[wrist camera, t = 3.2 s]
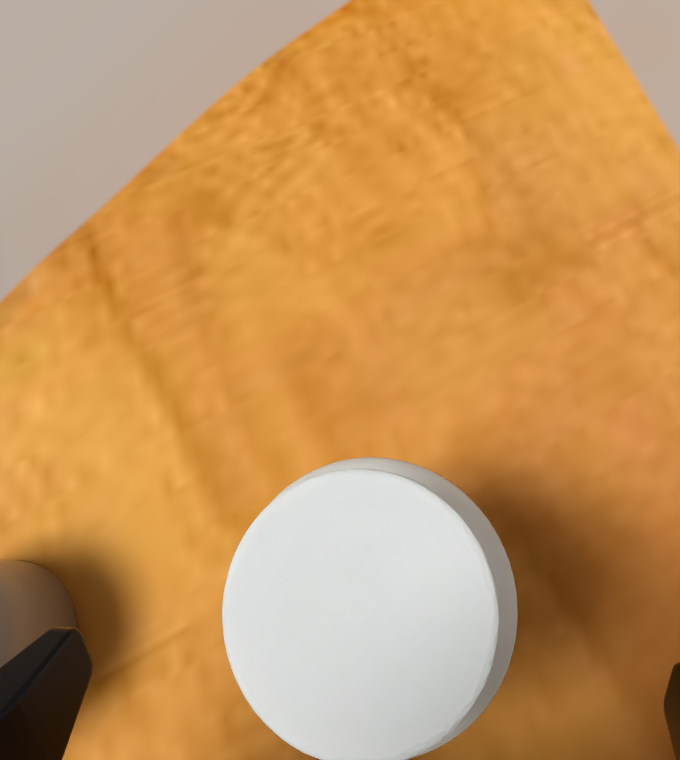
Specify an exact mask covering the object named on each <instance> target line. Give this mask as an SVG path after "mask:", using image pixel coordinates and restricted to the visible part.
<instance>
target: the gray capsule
mask: <svg viewBox="0 0 680 760" xmlns="http://www.w3.org/2000/svg"><path fill="white" fill-rule="evenodd" d="M53 627H74V628H77V622H76V615H75V611H74V607H73V604H72V601H71V599H70V596H69V594H68V593H67V591H66V589H65V587H64V586H63V585H62V583H61V582H60V581H59V580H58V578H56V577H55V576H54V575H53V574H52V573H51V572H49V571H48V570H46V569H45V568H43V567H41V566H39V565H37V564H34V563H31V562H27V561H19V560H0V667H1V666H2V665H4V664H5V663H6V662H8V661H9V660H10V659H11V658H13V657H14V656H15V655H17V654H18V653H19V652H20V651H22V650H23V649H24V648H26V647H27V646H28V645H29V644H31V643H32V642H33V641H35V640H36V639H37V638H38V637H40V636H41V635H42V634H44V633H45V632H46V631H48V630H49V629H51V628H53Z"/></svg>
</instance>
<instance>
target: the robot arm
mask: <svg viewBox="0 0 680 760" xmlns="http://www.w3.org/2000/svg"><path fill="white" fill-rule="evenodd" d="M91 674H92V659H91V656H90V654H89V651H88V648H87V646H86V643H85V641H84V638H83V635H82V633H81V631H80V630H79V629H77V628H74V627H53V628H51V629H49V630H48V631H46V632H45V633H44V634H42V635H41V636H40V637H38V638H37V639H36V640H35V641H33V642H32V643H31V644H29V645H28V646H27V647H26V648H24V649H23V650H22V651H20V652H19V653H18V654H17V655H15V656H14V657H13V658H11V659H10V660H9V661H8V662H6V663H5V664H4V665H2V666H1V667H0V760H62V758H63V755H64V753H65V750H66V747H67V744H68V741H69V738H70V735H71V732H72V730H73V727H74V724H75V721H76V718H77V715H78V712H79V710H80V707H81V704H82V701H83V698H84V695H85V692H86V689H87V687H88V684H89V681H90V678H91ZM664 712H665V718H666V722H667V726H668V730H669V734H670V738H671V742H672V746H673V750H674V754H675V758H676V760H680V662H679V663H677V664H675V665H674V667H673V669H672V673H671V676H670V680H669V683H668V687H667V690H666V694H665V698H664Z"/></svg>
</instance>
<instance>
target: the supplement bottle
mask: <svg viewBox="0 0 680 760" xmlns="http://www.w3.org/2000/svg"><path fill="white" fill-rule="evenodd" d="M517 621H518V610H517V593H516V586H515V580H514V576H513V572H512V569H511V565H510V562H509V559H508V556H507V554H506V551H505V549H504V547H503V545H502V542H501V540H500V538H499V536H498V534H497V533H496V531H495V530H494V528H493V526H492V525H491V523H490V521H489V520H488V519H487V517H486V516H485V515H484V514H483V512H482V511H481V510H480V509H479V508H478V506H477V505H476V504H475V503H474V502H473V501H472V500H471V499H470V498H469V497H468V496H467V495H466V494H465V493H464V492H463V491H461V490H460V489H459V488H457V487H456V486H455V485H453V484H452V483H451V482H449V481H448V480H446V479H445V478H443V477H441V476H440V475H438V474H436V473H434V472H432V471H430V470H428V469H425V468H423V467H420V466H418V465H415V464H412V463H409V462H404V461H400V460H395V459H388V458H373V457H364V458H355V459H349V460H343V461H339V462H335V463H331V464H329V465H326V466H323V467H321V468H318V469H316V470H314V471H312V472H310V473H308V474H306V475H304V476H303V477H301V478H299V479H298V480H296V481H295V482H293V483H292V484H291V485H289V486H288V487H287V488H285V489H284V490H283V491H282V492H281V493H279V494H278V496H277V497H276V498H275V499H274V500H273V501H272V502H271V503H270V504H269V505H268V506H267V507H266V508H265V509H264V510H263V511H262V512H261V513H260V514H259V516H258V517H257V518H256V519H255V520H254V522H253V523H252V524H251V526H250V527H249V529H248V530H247V532H246V533H245V535H244V536H243V538H242V540H241V542H240V543H239V545H238V547H237V550H236V552H235V554H234V557H233V560H232V562H231V565H230V568H229V572H228V576H227V580H226V584H225V588H224V596H223V609H222V622H223V633H224V642H225V647H226V652H227V655H228V659H229V662H230V665H231V668H232V671H233V674H234V676H235V679H236V681H237V683H238V685H239V687H240V689H241V691H242V693H243V695H244V697H245V699H246V700H247V702H248V703H249V704H250V706H251V707H252V709H253V710H254V712H255V713H256V714H257V715H258V716H259V717H260V719H261V720H262V721H263V722H264V723H265V724H266V725H267V726H268V727H269V728H270V729H271V730H272V731H273V732H274V733H275V734H276V735H278V736H279V737H280V738H281V739H282V740H284V741H285V742H287V743H288V744H290V745H291V746H293V747H294V748H296V749H298V750H299V751H301V752H303V753H305V754H308V755H310V756H312V757H315V758H317V759H320V760H409V759H411V758H413V757H416V756H419V755H422V754H425V753H427V752H430V751H433V750H435V749H437V748H438V747H440V746H442V745H444V744H446V743H448V742H449V741H451V740H452V739H454V738H455V737H457V736H458V735H459V734H461V733H462V732H463V731H465V730H466V729H467V728H468V727H469V726H470V725H471V724H472V723H474V722H475V721H476V719H477V718H478V717H479V716H480V715H481V714H482V713H483V711H484V710H485V709H486V708H487V706H488V705H489V703H490V702H491V700H492V699H493V697H494V696H495V694H496V693H497V691H498V689H499V687H500V685H501V683H502V681H503V680H504V677H505V675H506V672H507V670H508V667H509V664H510V661H511V657H512V653H513V649H514V645H515V641H516V633H517Z"/></svg>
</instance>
